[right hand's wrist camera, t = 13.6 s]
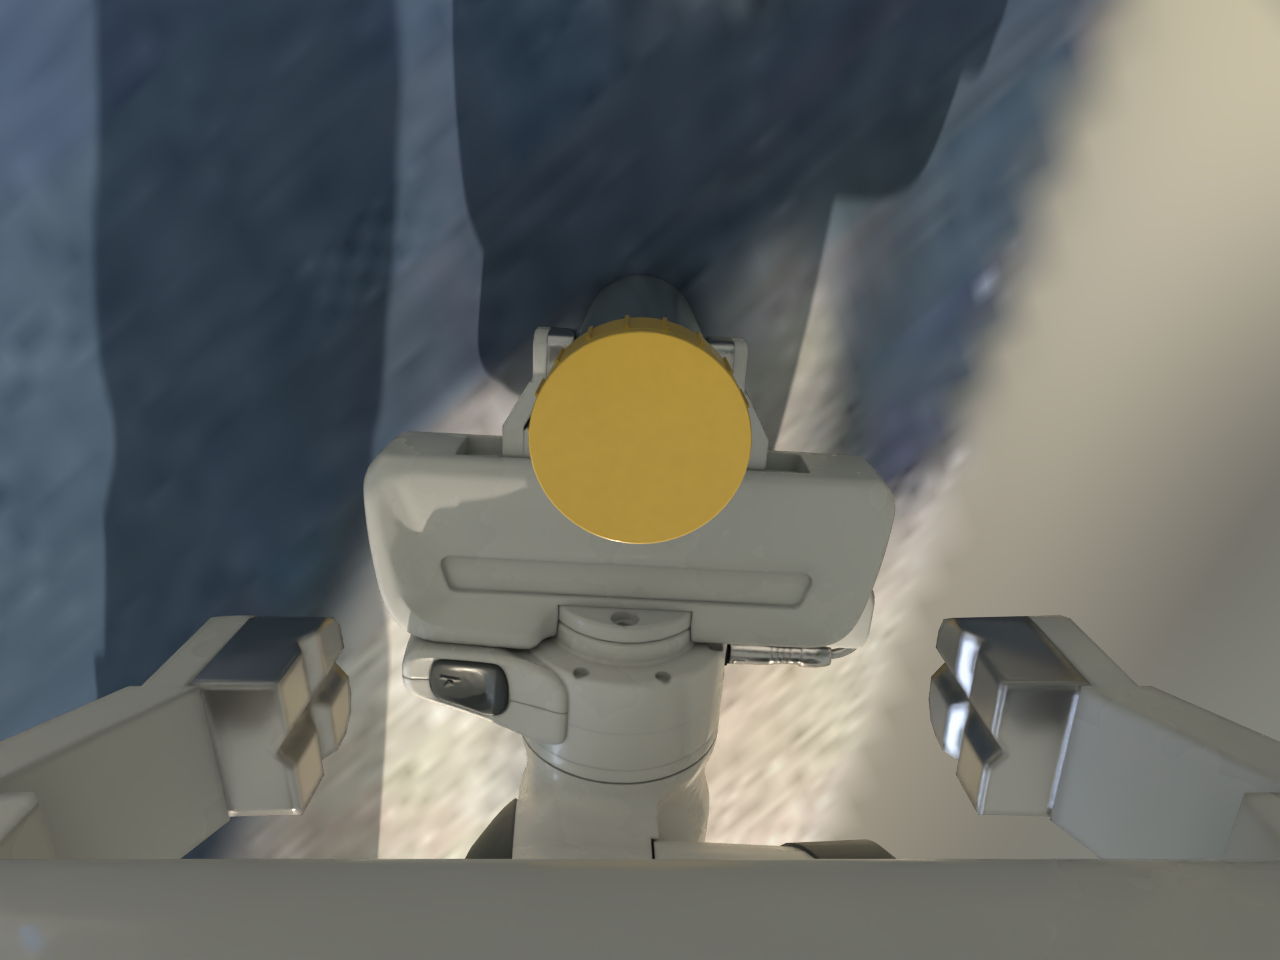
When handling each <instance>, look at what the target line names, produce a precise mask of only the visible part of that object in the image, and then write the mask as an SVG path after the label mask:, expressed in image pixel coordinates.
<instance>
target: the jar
mask: <svg viewBox="0 0 1280 960" xmlns="http://www.w3.org/2000/svg"><path fill="white" fill-rule="evenodd" d="M625 315H629V318H635V317H646V318H656V319H661V320H663V317H666V318H667V320H668V321H670V322H673V323H675V324H678V325H681V326H683V327H685V328H687V329H689V330H691V331H693V332H695V333H696V334H697V332H698V331H699V332H700V333H701V334H702V332H701V330H700V327H699V325H698V323H697V321H696V318H695V316H694V314H693V311H692V309H691V307H690V305H689V303H688V301H687V300H686V298H685V297H684V296H683V295H682V293H681V292H680V291H678V290H677V289H676V288H675V287H674V286H672V285H671V284H670V283H668V282H666V281H664V280H662V279H659V278H656V277H652V276H645V275H634V276H628V277H624V278H621V279H619V280H617V281H614V282H612V283H611V284H609V285H608V286H606V287H605V288H604V289H603V290H602V291H601V292H600V293H599V294H598V295H597V296H596V297H595V299H594V300H593V302H592V303H591V305H590V308H589V310H588V312H587V314H586V316H585V319H584V321H583V323H582V326H581V328H580V330H579V333H578V335H577V337H576V339H577V338H578V337H580V336H581V335H583V334H584V333H586V332H587V331H588V329H589V327H591V326H593V327H594V328H595V327H597V326H599V325H602V324H605V323H608V322H611V321H614V320H619V319H625ZM702 336H703V334H702ZM576 339H575V340H576ZM703 339H704V337H703Z"/></svg>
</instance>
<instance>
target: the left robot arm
mask: <svg viewBox="0 0 1280 960" xmlns="http://www.w3.org/2000/svg"><path fill="white" fill-rule="evenodd" d="M576 337H577V329H568V328H555V327H538V328H537V329H536V330H535V333H534V341H533V376H532V378H531V380H530V381H529V383H528V385H527V386H526V388H525V389H524V391H523V393H522V394H521V396H520V398H519V399H518V401H517V403H516V404H515V406H514V408H513V409H512V411H511V413H510V414H509V416H508V418H507V419H506V421H505V423H504V424H503V436H492V435H473V434H454V433H435V432H419V431H408V432H404V433H401V434H400V435H398V436H397V437H396V438H395V439H394V440H392V441H391V442H390V443H389V444H388V445H387V446H386V447H384V448H383V449H382V450H381V452H380V453H379V454H378V455H377V456H376V457H375V459H374V460H373V461H372V463H371V464H370V466H369V467H368V469H367V471H366V474H365V477H364V485H363V488H364V505H365V515H366V523H367V531H368V537H369V544H370V549H371V555H372V560H373V565H374V569H375V574H376V578H377V582H378V586H379V590H380V594H381V597H382V600H383V602H384V604H385V606H386V608H387V610H388V612H389V614H390V615H391V617H392V618H393V619H394V620H395V621H396V623H397V624H398V625H399V626H400V627H402V628H403V629H404V630H405V631H407V632H409V633H410V634H411V636H410V638H409V641H408V644H407V647H406V651H405V655H404V659H403V664H402V676H403V682H404V685H405V687H406V688H407V690H408V691H409V692H411V693H412V694H414V695H415V696H417V697H420V698H422V699H425V700H428V701H431V702H434V703H437V704H440V705H444V706H447V707H450V708H453V709H456V710H459V711H462V712H465V713H468V714H471V715H474V716H477V717H480V718H483V719H485V720H488V721H491V722H493V723H496V724H498V725H501V726H503V727H506V728H508V729H510V730H513V731H515V732H517V733H519V734H521V736H522V739H523V743H524V746H525V749H526V753H527V760H528V761H527V765H526V768H525V770H524V773H523V776H522V779H521V783H520V789H519V799H516V798H515V799H514V800H512V801H511V802H510V803H509V804H508V805H506V806H505V807H504V808H503V809H502V810H501V811H500V812H499V814H498V815H497V816H496V817H495V818H494V819H493V821H492V822H491V823H490V824H489V826H488V827H487V828H486V829H485V831H484V832H483V833H482V834H481V836H480V837H479V838H478V839H477V841H476V842H475V843H474V844H473V846H472V847H471V849H470V850H469V852H468V854H467V856H466V858H465V859H896V858H895V857H893V856H892V855H891V854H890V853H888V852H887V851H886V850H885V849H883V848H882V847H881V846H879V845H878V844H877V843H875V842H873V841H870V840H843V841H822V842H800V843H785V844H783V845H781V846H767V845H746V844H725V843H705V836H706V829H707V822H708V814H709V790H708V784H707V781H706V777H705V771H704V770H705V765H706V763H707V761H708V759H709V758H710V755H711V753H712V751H713V748H714V745H715V742H716V737H717V732H718V724H719V715H720V706H721V697H722V688H723V679H724V666H725V665H727V663H729V664H749V665H769V664H770V665H772V664H796V665H798V666H801V667H813V668H816V667H825V666H829V665H830V663H831V659H835V658H840V657H843V656H846V655H848V654H850V653H852V652H853V651H855V650H856V649H857V648H860V647H861V646H863V644H864V643H865V642H866V640H867V637H868V635H869V631H870V625H871V620H872V614H873V609H874V592H873V587H874V584H875V581H876V578H877V576H878V573H879V570H880V567H881V564H882V561H883V558H884V555H885V551H886V547H887V544H888V540H889V537H890V533H891V529H892V525H893V520H894V516H895V500H894V497H893V494H892V493H891V491H890V489H889V487H888V486H887V484H886V483H885V481H884V480H883V478H882V477H881V476H880V475H879V474H878V472H877V471H876V470H875V469H874V468H873V467H872V466H871V465H870V464H869V463H868V462H867V461H866V460H865V459H863V458H862V457H860V456H856V455H844V454H825V453H807V452H788V451H770V450H768V444H769V440H768V438H767V435H766V433H765V431H764V429H763V427H762V425H761V422H760V420H759V418H758V416H757V414H756V412H755V409H754V407H753V405H752V403H751V401H750V399H749V396H748V394H747V392H746V390H745V379H746V370H747V360H748V343H747V342H746V340H745V339H744V338H731V337H710V336H706V338H705V340H706V341H707V342H708V343H709V344H710V345H711V346H712V347H713V348H715V349H716V351H717V352H718V353H719V354H720V355H721V357H722V358H724V357H726V358H727V360H728V362H729V363H730V365H731V367H732V369H733V371H734V373H733V376H734V378H735V380H736V382H737V384H738V386H739V388H740V389H742V391H743V393H744V395H745V397H746V399H747V401H748V403H749V406H750V408H748V412H749V415H750V421H751V428H752V446H751V453H750V459H749V463H748V466H747V470H746V473H745V475H744V477H743V480H742V482H741V484H740V486H739V488H738V489H737V491H736V493H735V494H734V496H733V497H732V498H731V500H730V501H729V502H728V504H727V505H726V506H725V507H724V508H723V509H722V510H721V511H720V512H719V513H718V514H717V515H716V516H715V517H714V518H712V519H711V520H710V521H708V522H707V523H706V524H704V525H703V526H701V527H699V528H698V529H696V530H694V531H693V532H690V533H688V534H686V535H683V536H681V537H678V538H675V539H671V540H668V541H663V542H658V543H649V544H632V543H622V542H617V541H612V540H609V539H606V538H602V537H599V536H597V535H595V534H592V533H590V532H588V531H586V530H584V529H583V528H581V527H579V526H578V525H576V524H575V523H573V522H572V521H571V520H569V519H568V518H567V517H566V516H564V515H563V514H562V513H561V512H560V511H559V510H558V509H557V508H556V507H555V506H554V505H553V503H552V502H551V501H550V499H549V498H548V497H547V495H546V494H545V492H544V490H543V489H542V487H541V485H540V483H539V481H538V479H537V476H536V474H535V471H534V469H533V465H532V461H531V457H530V451H529V433H528V428H529V424H530V418H531V412H532V409H533V406H534V403H535V400H536V398H537V397H536V396H534V395H535V392H536V390H537V388H538V386H539V384H540V383H541V381H542V379H543V378H544V379H546V377H547V375H548V373H549V371H550V369H551V367H552V366H553V364H554V362H555V360H556V358H557V356H558V354H559V352H560V350H561V349H562V348H564V349H566V348H567V347H568V346H569V345H570V344H571V343H572V342H573V341H575V339H576ZM831 647H834V648H836V649H831Z"/></svg>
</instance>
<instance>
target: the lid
mask: <svg viewBox="0 0 1280 960" xmlns="http://www.w3.org/2000/svg"><path fill="white" fill-rule="evenodd" d="M733 373H734V371H733V369H732V367H731V365H730V363H729V362H728V360H727V358H726V357H724V358H722V357H721V355H720V354H719V353H718V352H717V351H716V349H715V348H713V347H712V346H711V345H710V344H709V343H708V342H707V341H706V340H705V339H703V336H702V334H701V333H700V332H699V331H698V332H697V334H696V333H695V332H693V331H691V330H689V329H687V328H685V327H683V326H681V325H678V324H675V323H673V322H670V321H668V320H667V318H666V317H663V320H661V319H656V318H646V317H635V318H629V315H625V319H619V320H614V321H611V322H608V323H605V324H602V325H599V326H597V327H595V328H594V327H593V326H591V327H589V329H588V331H587V332H586V333H584V334H583V335H581V336H580V337H578V338H577V339H576V340H575V341H573V342H572V343H571V344H570V345H569V346H568V347H567V348H566V349H564V348H562V349H561V350H560V352H559V354H558V356H557V358H556V360H555V362H554V364H553V366H552V367H551V369H550V371H549V373H548V375H547V377H546V379H544V378H543V379H542V381H541V383H540V384H539V386H538V388H537V390H536V392H535V395H534V396H536V397H537V398H536V400H535V403H534V406H533V409H532V412H531V418H530V424H529V428H528V433H529V451H530V457H531V461H532V465H533V469H534V471H535V474H536V476H537V479H538V481H539V483H540V485H541V487H542V489H543V490H544V492H545V494H546V495H547V497H548V498H549V499H550V501H551V502H552V503H553V505H554V506H555V507H556V508H557V509H558V510H559V511H560V512H561V513H562V514H563V515H564V516H566V517H567V518H568V519H569V520H571V521H572V522H573V523H575V524H576V525H578V526H579V527H581V528H583V529H584V530H586V531H588V532H590V533H592V534H595V535H597V536H599V537H602V538H606V539H609V540H612V541H617V542H622V543H632V544H649V543H658V542H663V541H668V540H671V539H675V538H678V537H681V536H683V535H686V534H688V533H690V532H693V531H694V530H696V529H698V528H699V527H701V526H703V525H704V524H706V523H707V522H708V521H710V520H711V519H712V518H714V517H715V516H716V515H717V514H718V513H719V512H720V511H721V510H722V509H723V508H724V507H725V506H726V505H727V504H728V502H729V501H730V500H731V498H732V497H733V496H734V494H735V493H736V491H737V489H738V488H739V486H740V484H741V482H742V480H743V477H744V475H745V473H746V470H747V466H748V463H749V459H750V453H751V446H752V428H751V421H750V415H749V412H748V408H750V406H749V403H748V401H747V399H746V397H745V395H744V393H743V391H742V389H740V388H739V386H738V384H737V382H736V380H735V378H734V376H733Z"/></svg>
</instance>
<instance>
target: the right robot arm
mask: <svg viewBox="0 0 1280 960" xmlns="http://www.w3.org/2000/svg"><path fill="white" fill-rule="evenodd" d="M343 648H344V644H343V639H342V634H341V628H340V625H339V624H338V622H337V621H336V620H335V619H334V618H333V617H286V616H257V617H256V616H254V615H243V616H218V617H212V618H210V619H209V620H208V621H207V622H206V623H205V624H204V625H203V626H202V627H201V628H200V629H199V630H198V631H197V632H196V633H195V634H194V635H193V636H192V637H191V638H190V639H189V640H188V641H187V642H186V643H185V644H184V645H183V646H182V647H181V648H180V649H179V650H178V651H177V652H175V653H174V654H173V655H172V656H171V657H170V658H169V659H168V660H167V661H166V662H165V663H164V664H163V665H162V666H161V667H160V668H159V669H158V670H157V671H156V672H155V673H154V674H153V675H152V676H151V677H150V678H149V679H148V680H147V681H146V682H145V683H144V684H143V685H142V686H128V687H125V688H123V689H121V690H118V691H116V692H114V693H112V694H109V695H107V696H105V697H102V698H100V699H98V700H95V701H93V702H91V703H88V704H86V705H84V706H82V707H79V708H77V709H75V710H72V711H70V712H68V713H65V714H63V715H61V716H58V717H56V718H54V719H51V720H49V721H47V722H45V723H42V724H40V725H38V726H35V727H33V728H31V729H28V730H26V731H24V732H21V733H19V734H17V735H15V736H12V737H10V738H8V739H5V740H3V741H1V742H0V960H1280V742H1279V741H1277V740H1274V739H1272V738H1270V737H1267V736H1265V735H1263V734H1261V733H1258V732H1256V731H1254V730H1251V729H1249V728H1247V727H1244V726H1242V725H1240V724H1238V723H1235V722H1233V721H1231V720H1228V719H1226V718H1224V717H1221V716H1219V715H1217V714H1214V713H1212V712H1210V711H1208V710H1205V709H1203V708H1201V707H1198V706H1196V705H1194V704H1191V703H1189V702H1187V701H1185V700H1182V699H1180V698H1178V697H1175V696H1173V695H1171V694H1168V693H1166V692H1164V691H1162V690H1159V689H1157V688H1155V687H1152V686H1138V685H1137V684H1136V683H1135V682H1134V681H1133V680H1132V679H1131V678H1130V677H1129V676H1128V675H1127V674H1126V673H1125V672H1124V671H1123V670H1122V669H1121V668H1120V667H1119V666H1118V665H1117V664H1116V663H1115V662H1114V661H1113V660H1112V659H1111V658H1110V657H1109V656H1108V655H1107V654H1106V653H1105V652H1104V651H1103V650H1102V649H1101V648H1100V647H1098V645H1097V644H1096V643H1095V642H1093V641H1092V640H1091V639H1090V638H1089V637H1088V636H1087V635H1086V634H1085V633H1084V632H1083V631H1082V630H1081V629H1080V628H1079V627H1078V626H1077V625H1076V624H1075V623H1074V622H1073V621H1072V620H1071V619H1070V618H1067V617H1064V616H1061V615H1049V616H1016V617H974V618H949V619H944V620H943V622H942V624H941V626H940V629H939V632H938V638H937V644H936V648H937V650H938V651H939V653H940V655H941V656H942V658H943V659H944V661H945V663H944V664H943V665H942V666H941V667H940V668H939V669H938V670H937V671H936V672H935V673H934V674H933V675H932V677H931V684H930V692H929V708H930V719H931V723H932V726H933V730H934V733H935V736H936V738H937V740H938V742H939V744H940V746H941V748H942V749H943V750H944V751H945V752H947V753H949V754H950V755H952V756H953V757H955V758H956V759H958V766H957V772H956V776H957V777H958V779H959V781H960V783H961V785H962V786H963V788H964V790H965V792H966V794H967V795H968V797H969V799H970V801H971V803H972V805H973V806H974V808H975V810H976V812H977V814H978V815H1012V816H1049V817H1050V820H1051V821H1052V822H1053V823H1055V824H1056V825H1057V826H1059V827H1060V828H1061V829H1062V830H1064V831H1065V832H1066V833H1068V834H1069V835H1070V836H1071V837H1073V838H1074V839H1075V840H1077V841H1078V842H1079V843H1080V844H1082V845H1083V846H1084V847H1086V848H1087V849H1088V850H1089V851H1091V852H1092V853H1093V854H1094V855H1096V856H1097V857H1098V858H1100V859H181V858H182V857H183V856H184V855H186V854H187V853H188V852H190V851H191V850H192V849H193V848H195V847H196V846H197V845H199V844H200V843H201V842H202V841H204V840H205V839H206V838H208V837H209V836H210V835H211V834H213V833H214V832H215V831H217V830H218V829H219V828H220V827H222V826H223V825H224V824H226V823H227V822H228V821H229V820H230V817H231V816H266V815H302V814H303V812H304V810H305V808H306V807H307V805H308V803H309V801H310V799H311V797H312V796H313V794H314V792H315V790H316V788H317V786H318V785H319V783H320V781H321V779H322V777H323V776H324V772H323V766H322V759H324V758H325V757H327V756H328V755H330V754H331V753H333V752H335V751H336V750H338V748H339V746H340V744H341V742H342V740H343V738H344V736H345V734H346V730H347V726H348V721H349V717H350V713H351V689H350V682H349V677H348V675H347V674H346V673H345V672H344V671H343V670H342V669H341V668H340V667H339V666H338V665H337V664H336V663H335V661H336V659H337V658H338V656H339V655H340V653H341V652H342V650H343Z"/></svg>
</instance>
